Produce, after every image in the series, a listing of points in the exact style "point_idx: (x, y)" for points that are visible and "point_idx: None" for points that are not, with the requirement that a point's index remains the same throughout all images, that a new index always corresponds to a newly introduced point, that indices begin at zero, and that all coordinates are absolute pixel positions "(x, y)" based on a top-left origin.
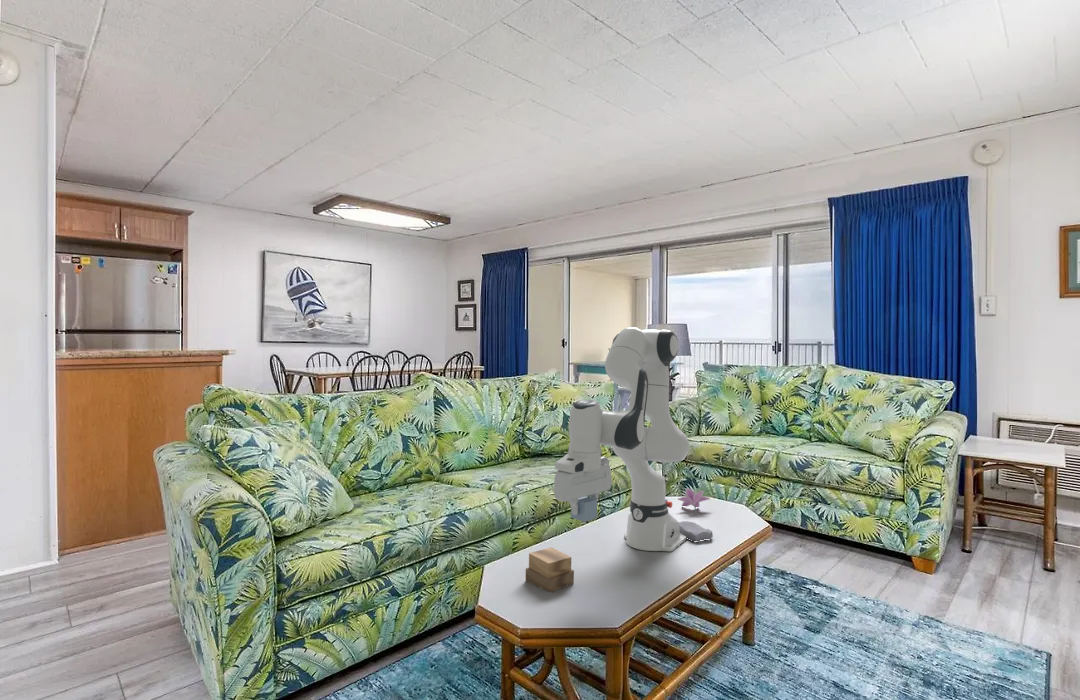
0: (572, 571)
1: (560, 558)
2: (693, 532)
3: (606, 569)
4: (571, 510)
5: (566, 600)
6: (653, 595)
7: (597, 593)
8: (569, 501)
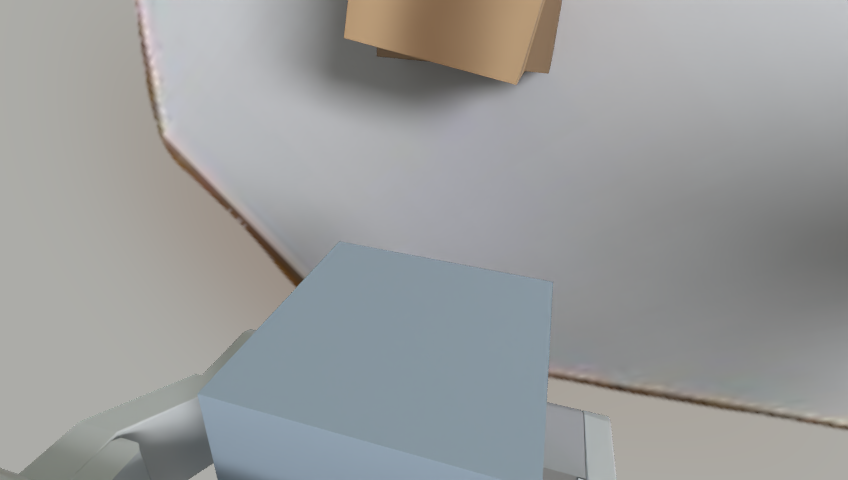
0: (537, 71)
1: (452, 43)
2: None
3: (839, 100)
4: (298, 293)
5: (390, 142)
6: (638, 367)
7: (522, 205)
8: (80, 435)
